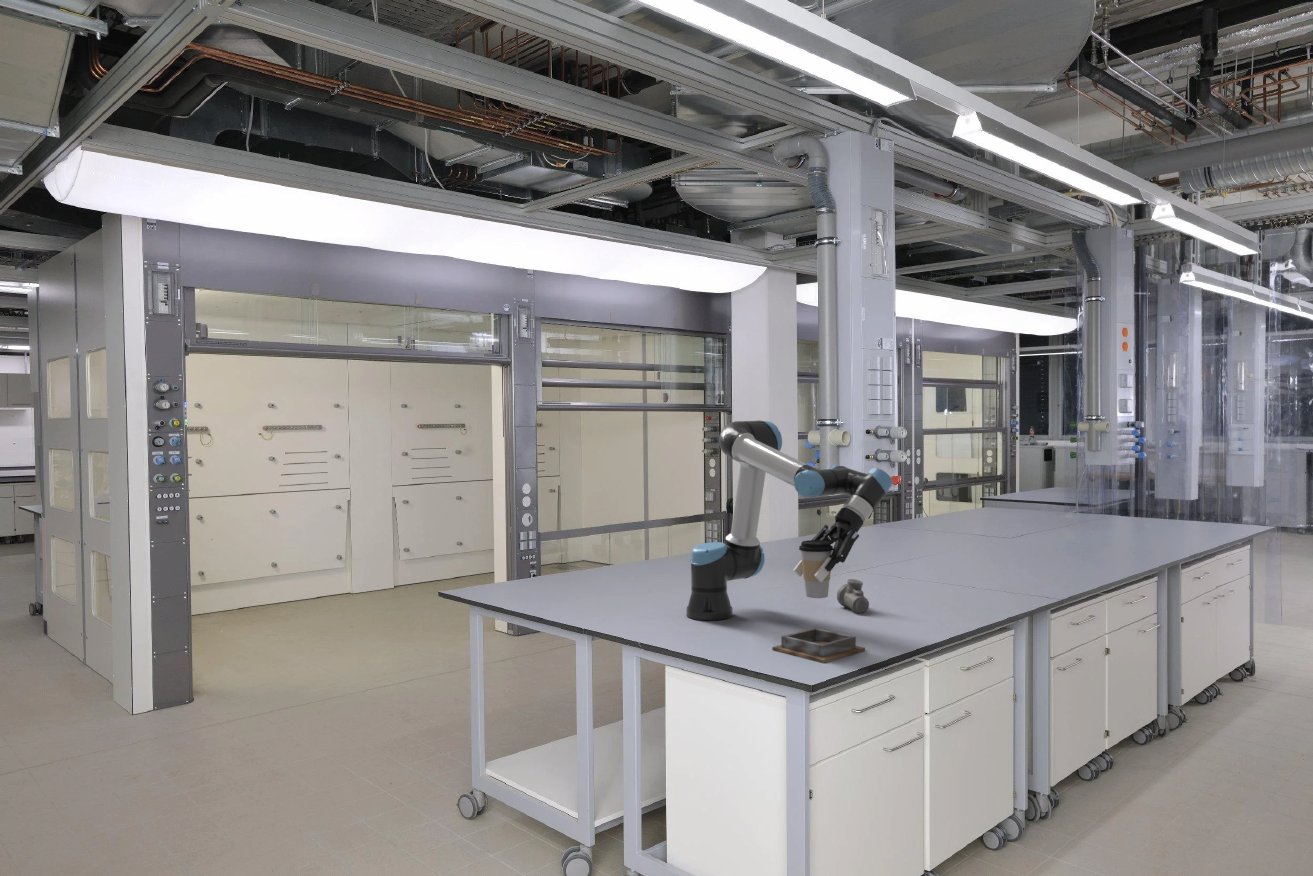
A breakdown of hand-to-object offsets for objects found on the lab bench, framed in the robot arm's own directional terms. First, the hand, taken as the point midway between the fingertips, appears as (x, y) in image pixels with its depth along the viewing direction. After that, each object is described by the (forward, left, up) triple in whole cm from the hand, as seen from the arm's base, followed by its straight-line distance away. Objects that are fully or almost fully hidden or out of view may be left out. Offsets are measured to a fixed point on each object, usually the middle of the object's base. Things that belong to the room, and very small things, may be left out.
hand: (807, 576), depth 242 cm
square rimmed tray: (+1, +3, -21) cm, 21 cm away
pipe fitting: (-23, +51, -21) cm, 60 cm away
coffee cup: (+1, +3, -6) cm, 7 cm away
